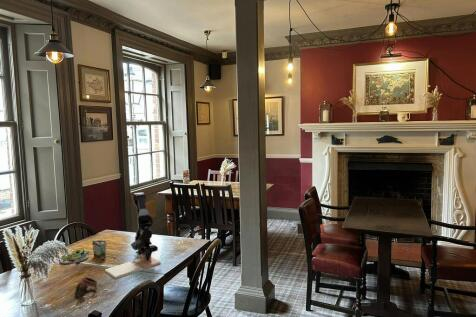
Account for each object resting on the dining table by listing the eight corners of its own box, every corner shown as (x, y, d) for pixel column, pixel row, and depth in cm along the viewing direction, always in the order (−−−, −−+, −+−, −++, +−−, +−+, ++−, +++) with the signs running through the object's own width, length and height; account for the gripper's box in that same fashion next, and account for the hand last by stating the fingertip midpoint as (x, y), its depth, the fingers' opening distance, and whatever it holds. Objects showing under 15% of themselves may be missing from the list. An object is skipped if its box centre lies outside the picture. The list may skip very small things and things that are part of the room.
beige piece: (132, 262, 209) (132, 252, 208) (148, 257, 216) (148, 248, 216) (143, 269, 198) (143, 258, 198) (160, 263, 206) (160, 253, 205)
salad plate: (92, 262, 213) (91, 254, 212) (59, 268, 205) (59, 260, 204) (89, 252, 230) (88, 245, 229) (59, 257, 222) (58, 250, 221)
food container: (111, 258, 218) (110, 242, 217) (101, 260, 213) (100, 245, 212) (102, 253, 226) (101, 238, 225) (93, 256, 222) (92, 241, 221)
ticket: (105, 271, 197) (104, 269, 197) (131, 263, 208) (130, 261, 208) (115, 278, 187) (115, 276, 187) (142, 269, 198) (142, 267, 198)
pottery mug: (75, 291, 175) (83, 275, 177) (93, 297, 176) (100, 281, 178) (69, 295, 163) (78, 278, 165) (88, 302, 164) (96, 285, 166)
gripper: (125, 234, 207) (126, 259, 208) (140, 241, 194) (141, 268, 195) (142, 230, 215) (143, 254, 216) (157, 236, 201) (158, 262, 202)
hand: (146, 259), depth 207 cm, fingers closed on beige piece, 3 cm apart
